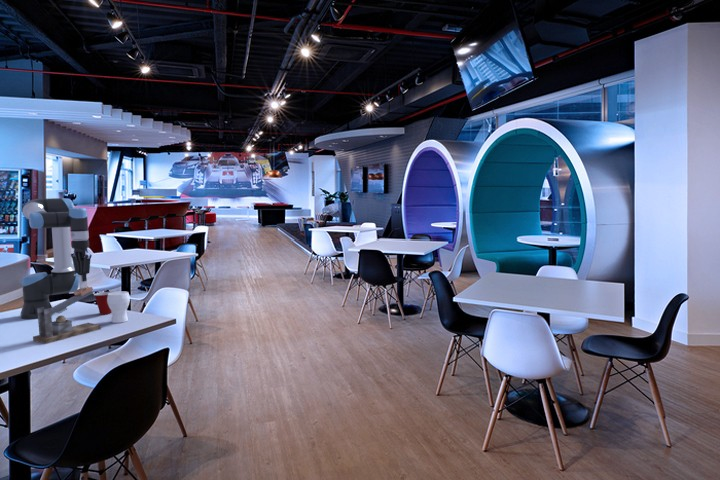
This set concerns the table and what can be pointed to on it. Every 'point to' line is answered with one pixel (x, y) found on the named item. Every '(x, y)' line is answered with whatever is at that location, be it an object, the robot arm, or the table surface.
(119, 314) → the cup
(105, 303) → the plastic cup
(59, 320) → the walnut
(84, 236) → the robot arm
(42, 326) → the press base
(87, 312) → the table surface
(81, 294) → the lever
